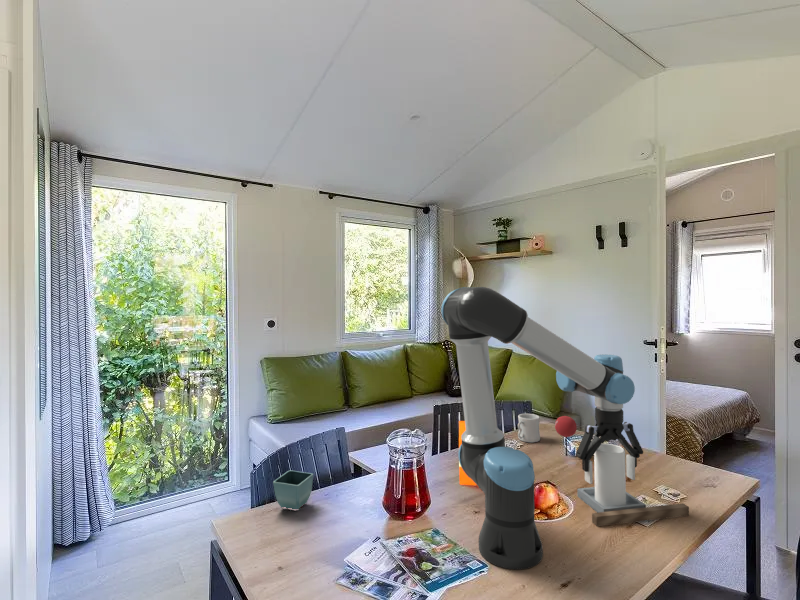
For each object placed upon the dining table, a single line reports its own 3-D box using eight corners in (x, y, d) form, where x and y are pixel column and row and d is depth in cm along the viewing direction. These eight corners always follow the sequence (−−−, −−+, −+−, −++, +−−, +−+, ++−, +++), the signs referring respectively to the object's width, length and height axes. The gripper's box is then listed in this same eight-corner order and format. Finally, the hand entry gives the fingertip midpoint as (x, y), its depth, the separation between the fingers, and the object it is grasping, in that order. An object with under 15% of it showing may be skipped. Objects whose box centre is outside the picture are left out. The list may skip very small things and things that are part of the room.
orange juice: (486, 486, 141) (485, 425, 141) (459, 484, 143) (458, 424, 143) (485, 476, 149) (484, 418, 149) (459, 474, 151) (458, 417, 150)
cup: (629, 510, 123) (629, 454, 123) (598, 508, 124) (597, 452, 124) (621, 497, 131) (620, 444, 131) (591, 495, 132) (591, 442, 132)
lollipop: (562, 450, 172) (561, 412, 172) (580, 455, 166) (580, 416, 166) (551, 455, 167) (551, 416, 167) (570, 460, 161) (569, 420, 161)
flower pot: (299, 516, 124) (298, 485, 124) (272, 512, 127) (272, 481, 127) (314, 502, 133) (314, 473, 133) (289, 498, 136) (289, 469, 135)
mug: (525, 434, 192) (525, 412, 191) (544, 439, 185) (544, 416, 184) (509, 441, 184) (508, 417, 183) (527, 446, 177) (527, 422, 177)
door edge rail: (596, 526, 116) (596, 516, 116) (592, 522, 118) (592, 513, 118) (688, 515, 120) (688, 506, 120) (683, 512, 122) (683, 503, 122)
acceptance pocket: (603, 517, 120) (603, 509, 120) (577, 496, 133) (577, 488, 133) (645, 513, 122) (645, 504, 122) (615, 492, 135) (615, 484, 135)
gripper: (576, 414, 122) (577, 489, 122) (656, 408, 126) (657, 481, 126) (562, 407, 129) (563, 478, 129) (638, 402, 133) (639, 471, 133)
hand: (609, 480), depth 128 cm, fingers open, 13 cm apart
